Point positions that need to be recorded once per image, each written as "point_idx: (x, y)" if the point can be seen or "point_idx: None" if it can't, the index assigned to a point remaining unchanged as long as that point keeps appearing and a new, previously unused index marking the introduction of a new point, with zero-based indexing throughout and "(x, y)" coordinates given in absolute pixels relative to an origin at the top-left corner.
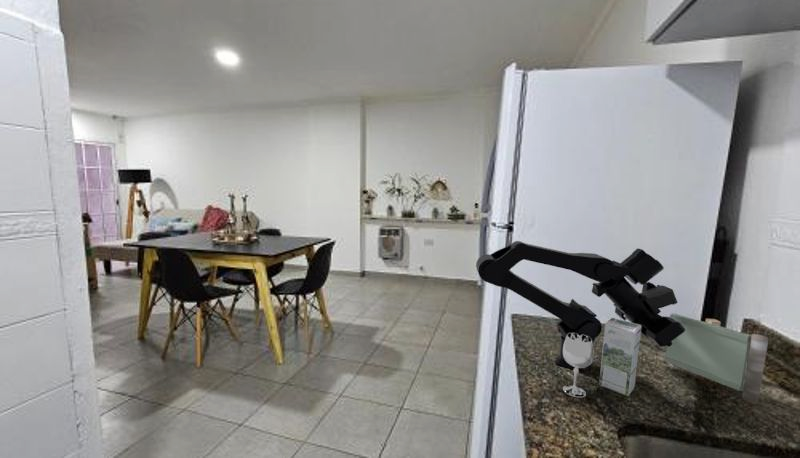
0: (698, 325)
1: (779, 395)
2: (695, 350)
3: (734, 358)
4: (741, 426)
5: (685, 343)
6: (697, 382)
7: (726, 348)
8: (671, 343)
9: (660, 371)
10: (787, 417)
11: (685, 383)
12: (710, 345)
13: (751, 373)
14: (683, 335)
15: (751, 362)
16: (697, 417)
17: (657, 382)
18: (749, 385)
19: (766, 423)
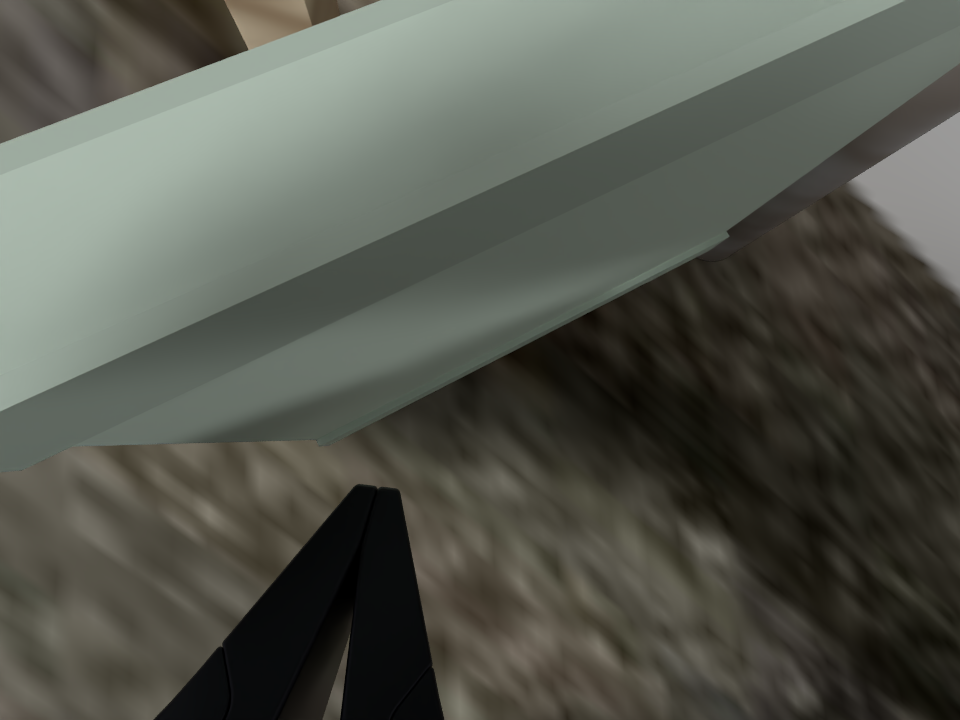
0: (638, 161)
1: None
2: (517, 313)
3: (810, 156)
4: (947, 499)
5: (429, 349)
6: (536, 367)
7: (813, 138)
8: (399, 506)
9: None
10: None
11: (554, 460)
12: (669, 217)
13: (865, 167)
14: (392, 346)
15: (956, 112)
16: (912, 691)
17: (555, 660)
18: (790, 215)
19: (899, 342)
